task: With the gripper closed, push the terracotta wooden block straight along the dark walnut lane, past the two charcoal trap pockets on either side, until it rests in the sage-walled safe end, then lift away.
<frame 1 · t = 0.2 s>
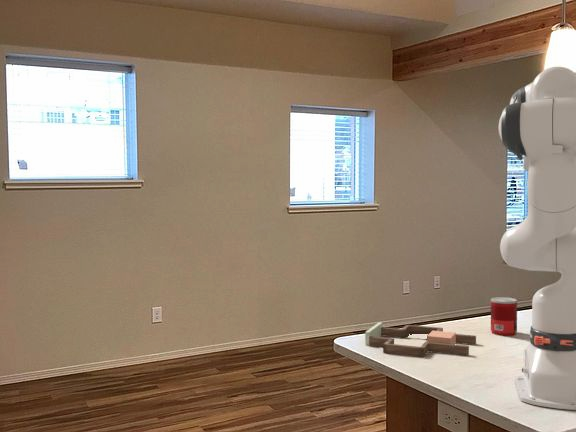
hand: (561, 186, 175), 47 cm above the kitchen island, fingers open, 8 cm apart
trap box: (434, 345, 188), on the kitchen island
block: (441, 347, 187), resting in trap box
canned food: (503, 333, 201), on the kitchen island
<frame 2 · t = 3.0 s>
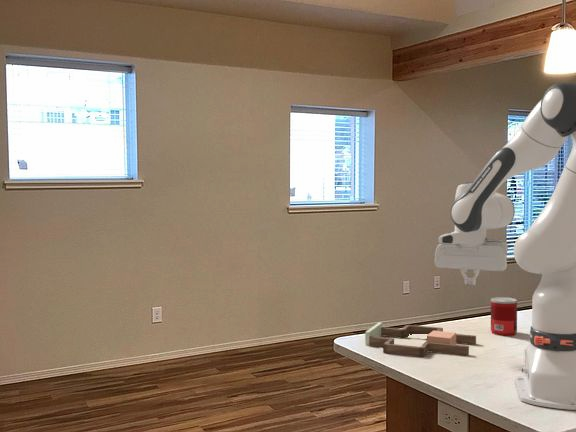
hand: (470, 284, 183), 19 cm above the kitchen island, fingers closed
nothing on the kitchen island moved.
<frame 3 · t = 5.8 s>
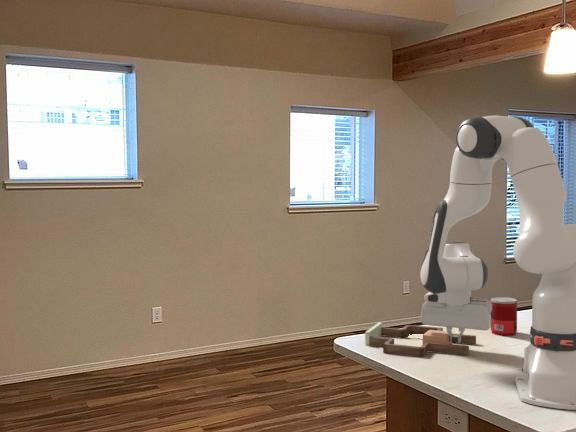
hand: (455, 341, 186), 2 cm above the kitchen island, fingers closed
block: (437, 346, 188), resting in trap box
everything else where it was.
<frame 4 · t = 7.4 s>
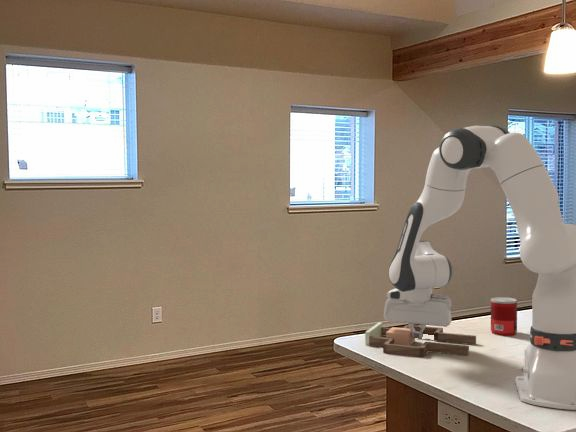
hand: (417, 337, 191), 2 cm above the kitchen island, fingers closed
block: (400, 343, 193), resting in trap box, touching gripper
everything else where it was.
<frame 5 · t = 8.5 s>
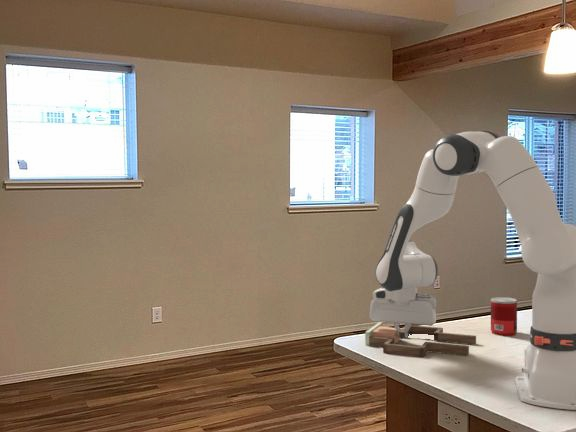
hand: (402, 337, 193), 2 cm above the kitchen island, fingers closed
block: (386, 342, 194), resting in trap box, touching gripper
everything else where it was.
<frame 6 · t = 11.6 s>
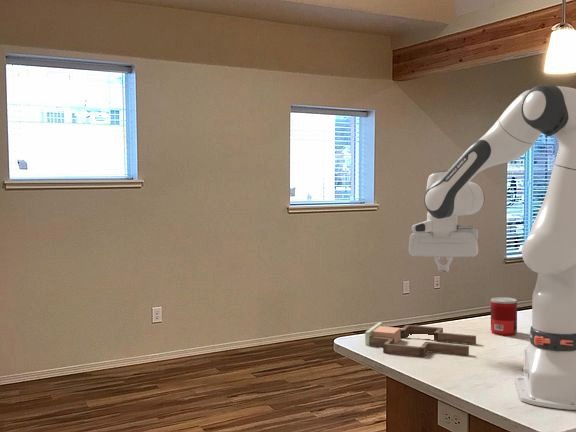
hand: (443, 271, 187), 22 cm above the kitchen island, fingers closed
block: (386, 342, 194), resting in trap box
everything else where it was.
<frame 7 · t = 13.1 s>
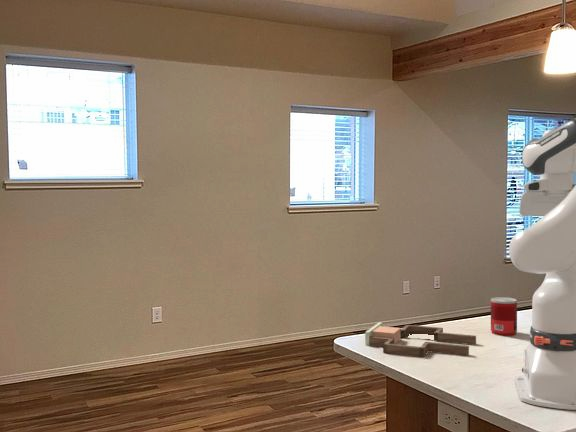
hand: (556, 231, 183), 34 cm above the kitchen island, fingers closed
nothing on the kitchen island moved.
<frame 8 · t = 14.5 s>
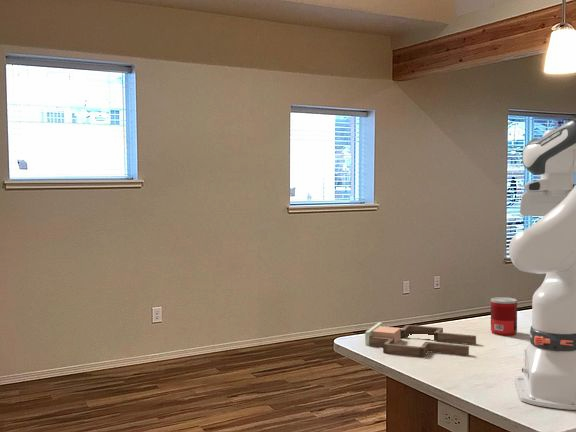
hand: (556, 231, 183), 34 cm above the kitchen island, fingers closed
nothing on the kitchen island moved.
at the end: block inside the target area (0.6 cm from its centre), resting in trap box; block tilted 0°; block moved 17.0 cm from its start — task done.
